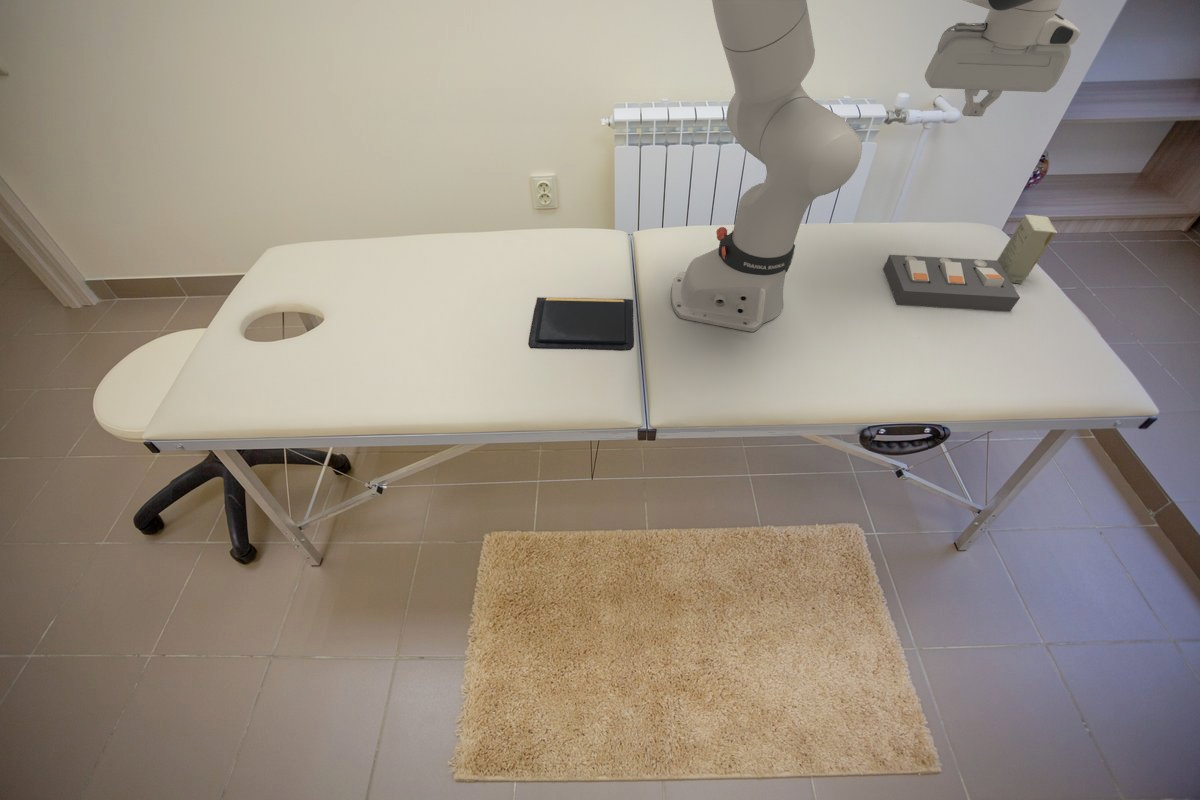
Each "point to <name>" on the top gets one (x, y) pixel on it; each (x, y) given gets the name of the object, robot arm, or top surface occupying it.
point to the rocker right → (989, 277)
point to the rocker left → (917, 271)
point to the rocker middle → (952, 273)
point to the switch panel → (945, 294)
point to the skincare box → (1026, 247)
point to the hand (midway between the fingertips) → (971, 115)
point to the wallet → (582, 324)
